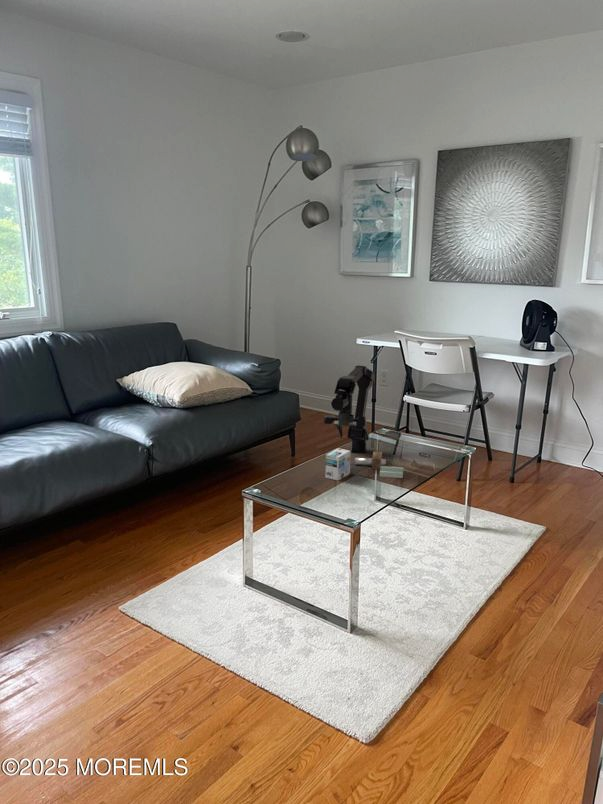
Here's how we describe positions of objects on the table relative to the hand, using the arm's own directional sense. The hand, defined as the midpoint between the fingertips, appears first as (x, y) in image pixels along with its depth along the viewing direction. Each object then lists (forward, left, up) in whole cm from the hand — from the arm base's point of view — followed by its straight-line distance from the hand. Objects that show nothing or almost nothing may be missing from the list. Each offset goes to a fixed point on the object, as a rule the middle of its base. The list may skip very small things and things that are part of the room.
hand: (344, 438), depth 279 cm
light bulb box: (-1, -16, -12) cm, 20 cm away
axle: (+12, 0, -12) cm, 17 cm away
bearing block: (+15, 0, -12) cm, 19 cm away
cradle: (+22, -9, -12) cm, 27 cm away
